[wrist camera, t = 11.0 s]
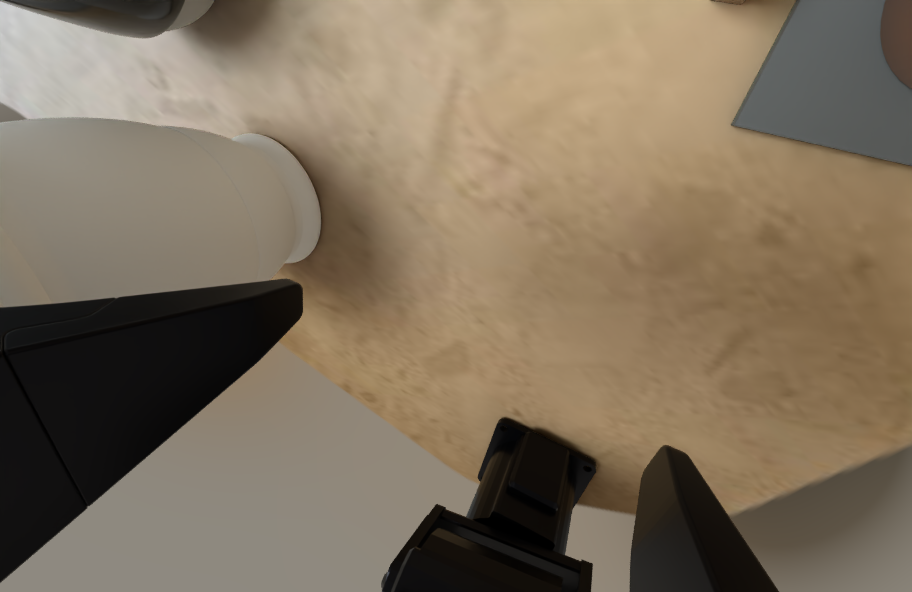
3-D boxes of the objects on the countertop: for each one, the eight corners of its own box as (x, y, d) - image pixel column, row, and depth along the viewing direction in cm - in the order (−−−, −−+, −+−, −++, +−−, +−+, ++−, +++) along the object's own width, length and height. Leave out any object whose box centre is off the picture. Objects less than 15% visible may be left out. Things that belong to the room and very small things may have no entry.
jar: (205, 214, 28) (-125, 296, 16) (224, 77, 23) (-270, 41, 10) (312, 302, 28) (52, 457, 15) (360, 183, 22) (4, 281, 10)
